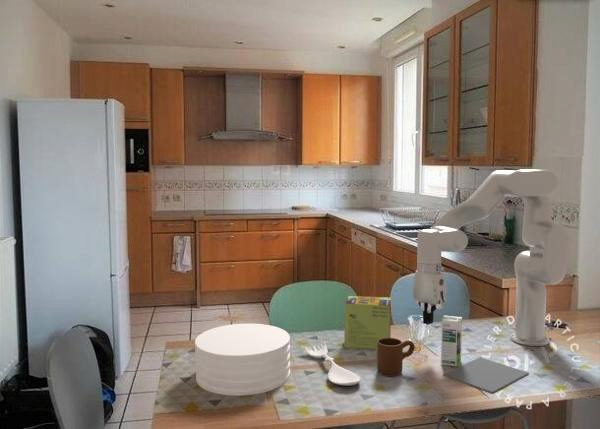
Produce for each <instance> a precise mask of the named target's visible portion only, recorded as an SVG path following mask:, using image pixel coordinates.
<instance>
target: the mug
mask: <svg viewBox="0 0 600 429" xmlns="http://www.w3.org/2000/svg"><path fill="white" fill-rule="evenodd" d="M407 346H409V347H408V350H406V351H404V348H406V347H407ZM415 348H416V346H415V343H414V342H413V341H412V340H410V339H408V340H404V341H402V340H401V339H398V338H394V337H390V338H382V339H379V340H378V343H377V349H376V371H377V372H378V374H380V375H382V376H385V377H397V376H399V375H401V374H402V373H403V364H404V363H403V360H405V358H408V357H410V356H412V354H413V353H414V352H415Z"/></svg>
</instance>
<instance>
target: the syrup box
mask: <svg viewBox="0 0 600 429" xmlns="http://www.w3.org/2000/svg"><path fill="white" fill-rule="evenodd" d="M462 332H463V317H462V316H454V315H451V316H450V315H445V314H444V315H443V317H442V319H441V344H440V345H441V346H440V347H441V349H440V350H441V351H440V352H441V353H440V355H441V357H440V366H441V365H442V366H443V365H444V366H451V367H456V368H457V367H459V366H461V363H462V342H463V341H462V337H463V335H462V334H463V333H462Z"/></svg>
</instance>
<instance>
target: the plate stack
mask: <svg viewBox="0 0 600 429" xmlns="http://www.w3.org/2000/svg"><path fill="white" fill-rule="evenodd" d="M290 342H291V337H290V333H288V332H287V331H286V330H285V329H282V328H280V327H278V326H274V325H269V324H264V323H234V324H226V325H220V326H218V327H212V328H210V329H208V330H206V331H203V332H201V333H200V334H199V335H197V337H196V338H195V341H194V347H195V349H194V350H195V351H194V352H195V353H194V354H195V380H196V383H197V385H198V386H199V387H200V388H202V389H203V390H204V391H205V390H206V391H207V392H210V393H213V394H218V395H223V396H224V395H225V396H251V395H258V394H262V393H267V392H270V391H272V390H275V389H277V388H280V387H282V385H284V384H286V383H287V382H288V381H289V379H290V376H291V343H290Z"/></svg>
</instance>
